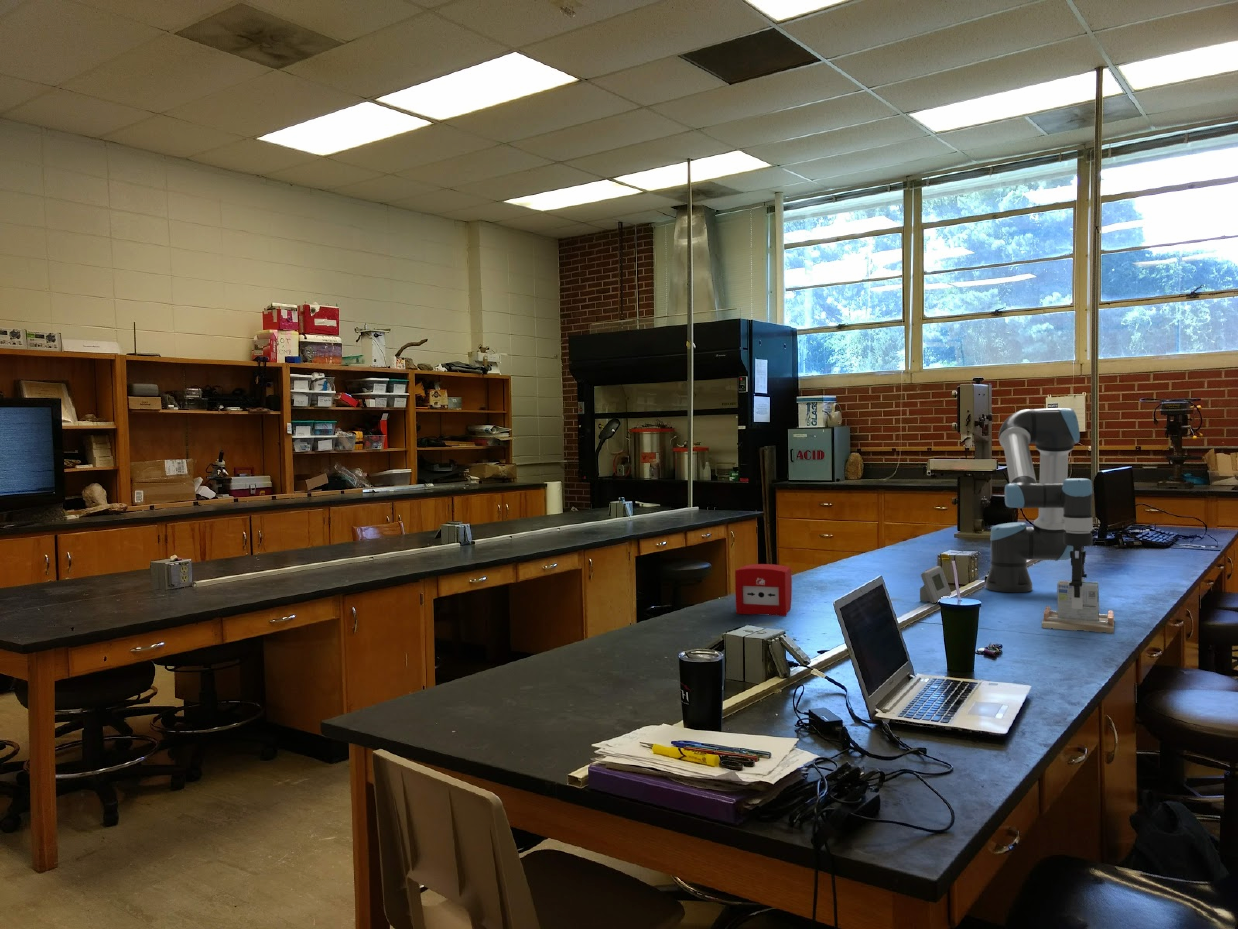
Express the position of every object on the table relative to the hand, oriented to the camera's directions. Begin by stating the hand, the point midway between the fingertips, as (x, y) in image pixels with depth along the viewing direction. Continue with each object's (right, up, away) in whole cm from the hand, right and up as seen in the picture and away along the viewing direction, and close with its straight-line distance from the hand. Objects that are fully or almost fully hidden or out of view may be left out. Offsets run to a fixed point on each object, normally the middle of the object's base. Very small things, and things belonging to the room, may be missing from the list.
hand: (1078, 604), depth 256 cm
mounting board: (0, -6, 0) cm, 6 cm away
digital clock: (-27, -5, +40) cm, 49 cm away
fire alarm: (-87, -7, +30) cm, 92 cm away
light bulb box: (0, -5, 0) cm, 5 cm away
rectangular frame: (0, -4, 0) cm, 4 cm away
